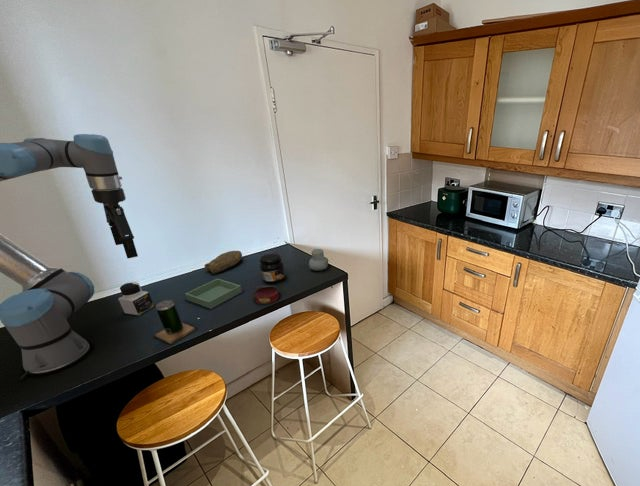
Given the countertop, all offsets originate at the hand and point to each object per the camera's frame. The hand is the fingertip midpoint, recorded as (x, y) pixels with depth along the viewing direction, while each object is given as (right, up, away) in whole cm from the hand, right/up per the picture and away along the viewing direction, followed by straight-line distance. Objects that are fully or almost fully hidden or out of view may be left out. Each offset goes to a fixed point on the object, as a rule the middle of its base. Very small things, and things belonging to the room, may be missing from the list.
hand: (126, 250), depth 107 cm
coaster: (+11, -30, +8) cm, 33 cm away
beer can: (+11, -29, +8) cm, 32 cm away
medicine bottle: (-14, -23, +22) cm, 35 cm away
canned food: (+35, -19, +31) cm, 51 cm away
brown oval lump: (+2, -5, +59) cm, 59 cm away
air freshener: (+52, -6, +57) cm, 77 cm away
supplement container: (+32, -12, +46) cm, 57 cm away
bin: (+12, -18, +32) cm, 39 cm away
